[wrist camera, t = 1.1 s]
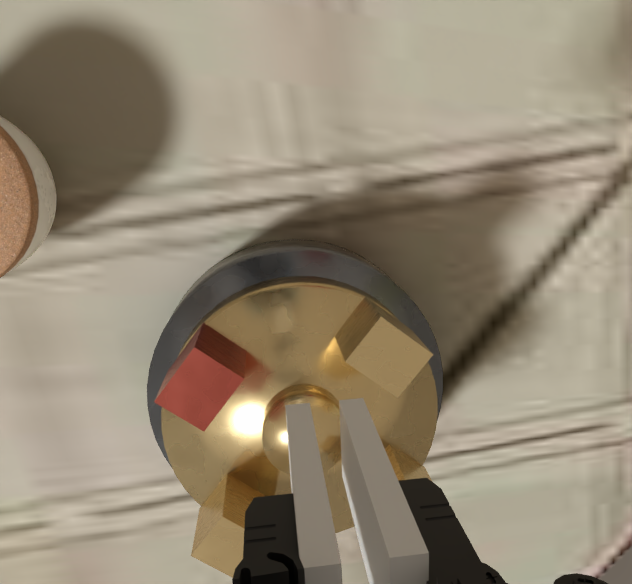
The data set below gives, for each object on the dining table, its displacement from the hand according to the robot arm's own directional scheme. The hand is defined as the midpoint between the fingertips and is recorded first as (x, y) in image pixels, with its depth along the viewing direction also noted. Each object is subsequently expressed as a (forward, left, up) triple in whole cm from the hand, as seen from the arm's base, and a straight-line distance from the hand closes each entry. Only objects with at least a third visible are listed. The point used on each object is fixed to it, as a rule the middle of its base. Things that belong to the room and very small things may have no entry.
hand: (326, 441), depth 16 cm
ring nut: (+5, +4, -17) cm, 19 cm away
